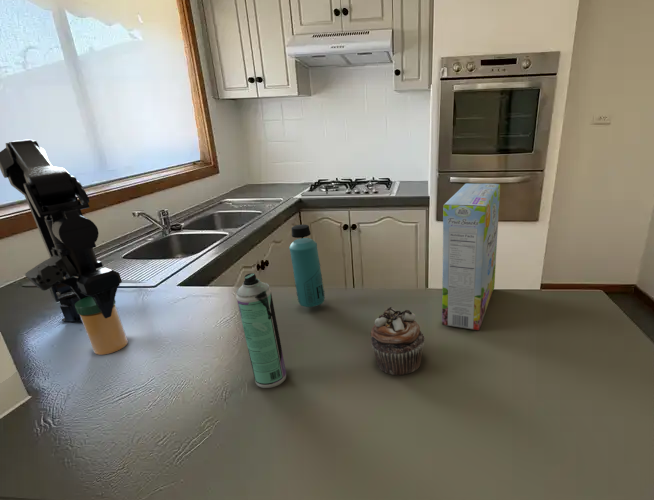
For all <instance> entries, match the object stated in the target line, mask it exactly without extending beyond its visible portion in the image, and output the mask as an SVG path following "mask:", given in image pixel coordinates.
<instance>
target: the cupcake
mask: <svg viewBox="0 0 654 500" xmlns="http://www.w3.org/2000/svg"><path fill="white" fill-rule="evenodd" d="M415 319H416V314H415V313H414V312H411V310H409V309H405V310H403V311H402V310H396V309H394V308H392V306H390V307H387V308H386V309H385V310H384V312H383V314H380V315H379V316H378V317H377V318H376V319H375V320H374V325H373V326H372V327H371V330H370V331H371V332H370V344H371V348H372V350H373V354H374V357H375V361H376V364H377V366H378V367H377V368H379V369H380V370H381V371H382V372H383V373H385V374H389V375H392V376H405V375H409V374H412V373H414V372H415V371H417V370H418V369H419V367H420V366H421V364H422V363H421V361H422V357H423V356H422V355H423V350H424V346H425V341H426V340H425V338H426V337H425V335H424V333H422V330H421V329H420V325H419V323H418V322H417V321H416V320H415Z"/></svg>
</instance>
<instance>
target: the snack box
mask: <svg viewBox="0 0 654 500" xmlns="http://www.w3.org/2000/svg"><path fill="white" fill-rule="evenodd" d="M500 196H501V184H500V183H469V182H468V183H464V184H463V186H461V187H460V188H459V189H458V190H457V191H456V192H455V193H454V194H453V195H452V196H451V197H450V198H449V199H448V200H447V201H446V202H445V203H444V204H443V207H442V210H443V211H442V212H443V213H442V281H441V282H442V283H441V284H442V288H441V290H442V292H441V325H442V326H445V327H454V328H460V329H466V330H473V331H480V329H481V326H482V324H483V321H484V318H485V314H486V312H487V309H488V306H489V304H490V301H491V297H492V294H493V292H494V289H495V284H496V267H497V265H496V264H497V249H498V248H497V247H498V234H499V233H498V231H499V216H500V215H499V214H500V213H499V212H500V199H501V198H500Z"/></svg>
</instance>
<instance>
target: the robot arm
mask: <svg viewBox="0 0 654 500" xmlns="http://www.w3.org/2000/svg"><path fill="white" fill-rule="evenodd" d="M0 172H1V174H2V176H3V178H4V179H8V182H9V183H10V186H12V187H13V188H14V189H15V190H17V191H18V192H19V193H20V194H22V195H23V196H24V198H25V200H26V203H27V205H28V208H29V210H30V212H31V214H32V218H33V219H34V222H35V224H36V227H37V229H38V233H39V234H40V237H41V239H42V242H43V244H44V247H45V249H46V251H47V253H48V257H49V258H47V259H45V260H43V261H41V262H40V263H39V264H37V265H35V266H34V267H32V268H31V269H29V270H28V271H27V272H25V273H24V276H25V277H26V278H27V279H28V280H29V281H30V282H31V283H32V284H33V285H34V286H35V287H36V288H38V289H40V290H41V291H47V290H49V292H50V294H51V297H52V298H53V300H54V301H55V302H56V303H58V302H59V304H60V305H59V307H60V310H61V313H62V315H63V318H62V319H61V321H62V322H66V323H67V322H69V323H70V322H71V323H83V322H82V320H81V317H80V314H78V313H77V311H76V308H75V303H76V302H78V301H79V300H81V299H83V298H85V297H88V296H90V297H92V298H93V300H94V301H95V303H96V305H97V306H98V308H99V310H100V312H101V313H102V315H103V316H104V318H108V317H111V314H112V309H113V304H114V299H115V300H116V294H117V292H118V288H119V287H120V285H121V284H122V283H123V280H122V277H121V274H120V273H119V272H118V271H115V270H113V269H110V268H108V267H104V264H103V262H102V261H100V260H98V259H97V255H96V252H95V249H94V248H97V245H96V242H97V241H98V239H99V228H98V226H97V225H96V224H95V222H93V221H92V220H91V219H89V218H88V217H85V216H84V215H83V213H82V210H84V209H85V210H86V209H90V208H91V207H90V204H89V203H90V198H89V195H88V194H87V192H86V190H85V188H84V186H83V185H82V183H81V181H79V180H78V179H77V177H76V176H74V175H71V174H70V173H69V172H68V170H66V169H65V168H64V167H60V166H53V164H52V163H51V161H50V159H49V156H48V155H47V152H46V150H45V148H43V147H41V146H40V145H39V143H38V141H37V140H33V139H23V140H20V139H19V140H10V141H8V142H5V148H4V149H2V150H1V151H0Z"/></svg>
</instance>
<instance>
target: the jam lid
mask: <svg viewBox="0 0 654 500" xmlns="http://www.w3.org/2000/svg"><path fill="white" fill-rule="evenodd" d="M116 302H117V301H116V298H115V299H114V304H113V306H114V305H115V306H116ZM75 308H76V311H77V313H78V314H80V315H92V314H96V313H100V310H99V308H98V306H97V305H96V303H95V301H94V300H93V298H92V297H90V296H88V297H85V298H83V299H81V300H79V301H78V302H76V303H75Z"/></svg>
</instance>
